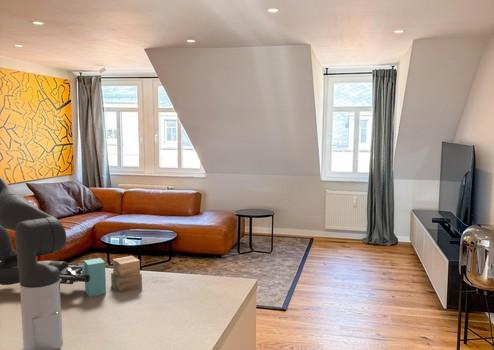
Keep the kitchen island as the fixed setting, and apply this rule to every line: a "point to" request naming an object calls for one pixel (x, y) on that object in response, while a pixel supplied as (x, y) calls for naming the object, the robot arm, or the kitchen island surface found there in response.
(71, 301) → the kitchen island surface
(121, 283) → the walnut base block
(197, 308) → the kitchen island surface
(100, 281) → the teal pillar
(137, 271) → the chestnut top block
